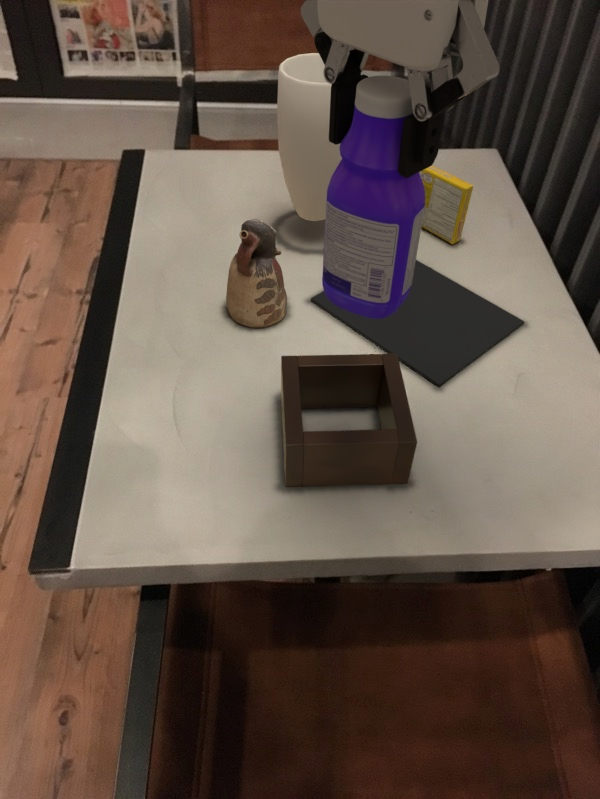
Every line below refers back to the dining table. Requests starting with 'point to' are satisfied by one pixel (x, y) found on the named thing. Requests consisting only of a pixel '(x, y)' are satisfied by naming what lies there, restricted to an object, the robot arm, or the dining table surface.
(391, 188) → the bottle
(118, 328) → the dining table surface
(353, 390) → the holder
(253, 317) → the figurine
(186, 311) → the dining table surface
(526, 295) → the dining table surface
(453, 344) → the mat
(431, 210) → the candy box
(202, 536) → the dining table surface
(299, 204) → the cup
